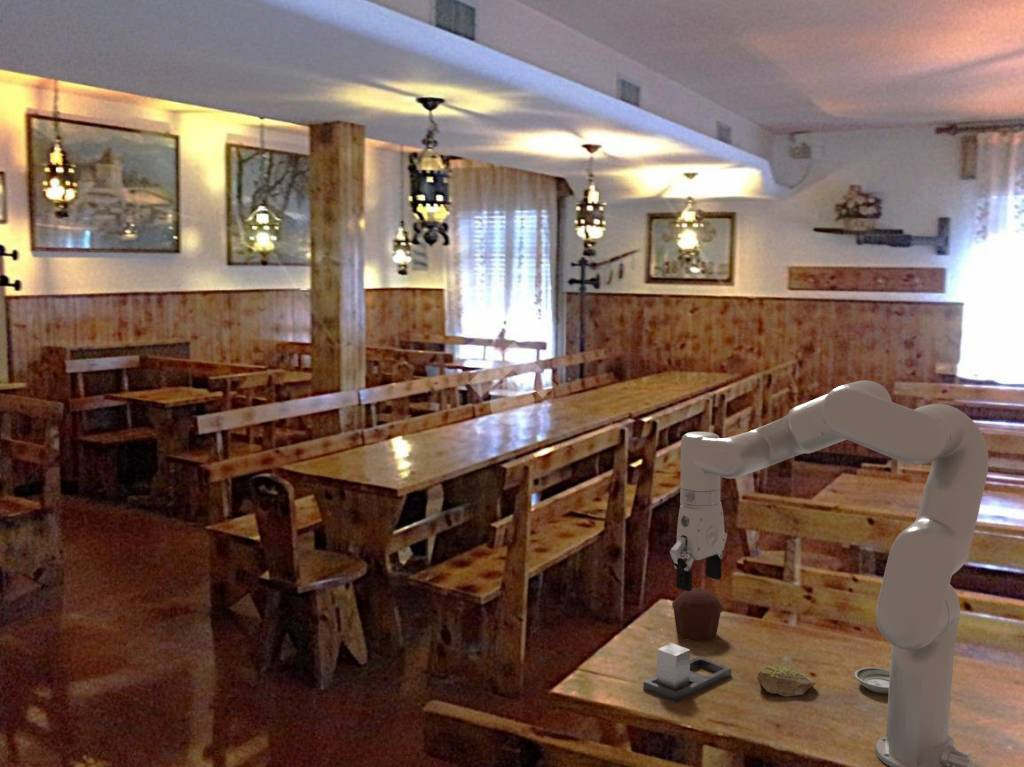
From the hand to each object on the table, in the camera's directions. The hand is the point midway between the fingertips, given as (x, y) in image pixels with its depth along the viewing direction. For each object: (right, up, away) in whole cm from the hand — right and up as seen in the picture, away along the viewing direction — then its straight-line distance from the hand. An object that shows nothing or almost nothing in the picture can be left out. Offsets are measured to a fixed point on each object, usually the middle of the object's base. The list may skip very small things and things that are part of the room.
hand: (698, 583), depth 185 cm
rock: (+18, -22, +4) cm, 28 cm away
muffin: (+5, -18, +30) cm, 36 cm away
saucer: (+36, -22, +3) cm, 42 cm away
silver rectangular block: (-5, -21, +2) cm, 21 cm away
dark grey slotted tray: (-1, -21, +5) cm, 21 cm away
